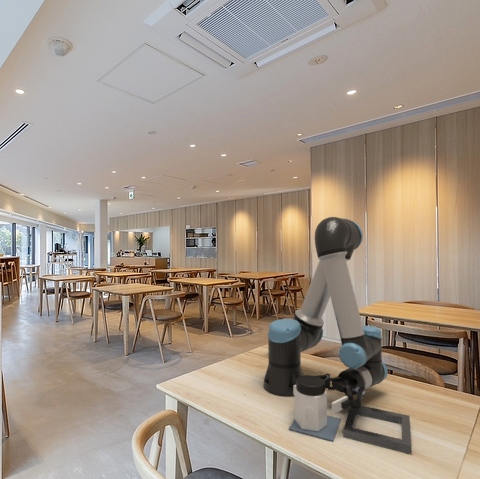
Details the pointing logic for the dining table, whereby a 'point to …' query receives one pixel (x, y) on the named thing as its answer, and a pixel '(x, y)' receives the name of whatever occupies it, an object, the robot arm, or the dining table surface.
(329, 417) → the mat
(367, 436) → the frame
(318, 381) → the jar
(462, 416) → the dining table surface
